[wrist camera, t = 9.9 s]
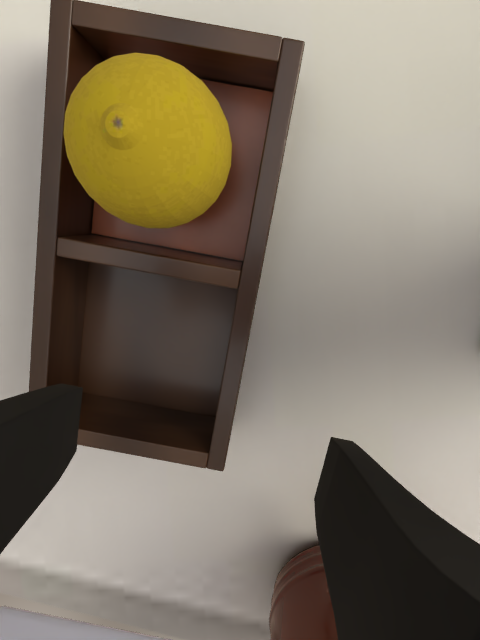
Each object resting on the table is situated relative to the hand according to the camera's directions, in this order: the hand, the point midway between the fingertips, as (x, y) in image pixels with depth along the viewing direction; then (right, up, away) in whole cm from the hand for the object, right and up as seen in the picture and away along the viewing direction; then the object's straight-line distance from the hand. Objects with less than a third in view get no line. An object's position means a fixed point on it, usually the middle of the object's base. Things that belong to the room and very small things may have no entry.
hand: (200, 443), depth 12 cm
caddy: (-2, +7, +9) cm, 11 cm away
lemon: (-2, +11, +7) cm, 13 cm away
